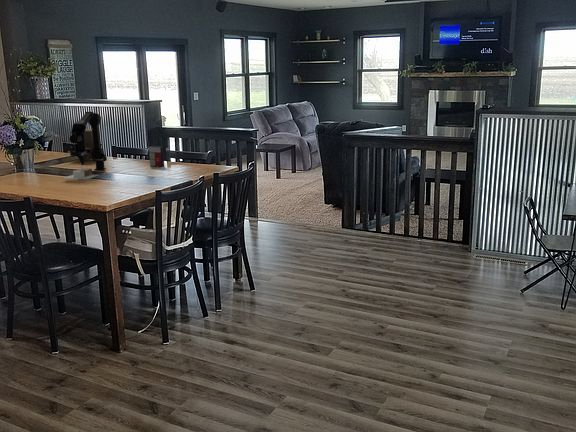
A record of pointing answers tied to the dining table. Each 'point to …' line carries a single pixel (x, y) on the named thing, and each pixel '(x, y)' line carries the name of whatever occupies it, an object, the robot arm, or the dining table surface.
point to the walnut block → (82, 172)
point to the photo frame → (89, 142)
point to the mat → (80, 177)
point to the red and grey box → (156, 156)
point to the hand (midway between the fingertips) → (82, 165)
